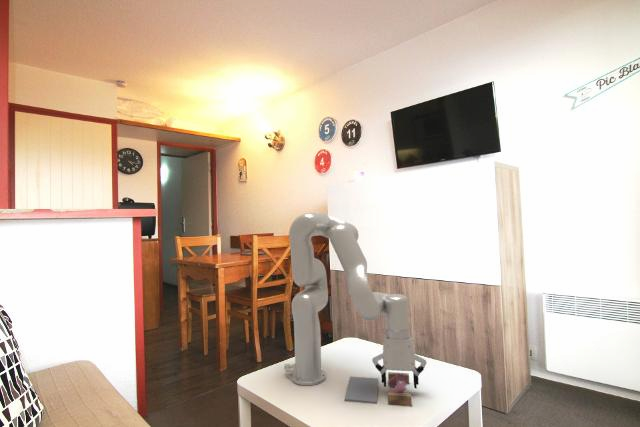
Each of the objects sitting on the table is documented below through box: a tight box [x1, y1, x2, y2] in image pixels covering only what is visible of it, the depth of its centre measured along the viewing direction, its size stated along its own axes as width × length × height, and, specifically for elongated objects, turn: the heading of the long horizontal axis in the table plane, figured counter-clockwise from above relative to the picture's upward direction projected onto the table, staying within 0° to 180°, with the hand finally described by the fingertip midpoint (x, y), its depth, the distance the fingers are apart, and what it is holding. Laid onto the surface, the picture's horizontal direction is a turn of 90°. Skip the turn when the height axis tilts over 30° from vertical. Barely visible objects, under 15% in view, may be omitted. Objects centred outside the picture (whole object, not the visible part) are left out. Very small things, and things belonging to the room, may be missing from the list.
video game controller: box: [387, 372, 407, 393], centre depth 112 cm, size 10×5×7 cm, turn 169°
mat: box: [343, 376, 379, 405], centre depth 114 cm, size 10×16×1 cm, turn 168°
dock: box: [387, 371, 413, 408], centre depth 112 cm, size 7×16×3 cm, turn 168°
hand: (400, 385), depth 112 cm, fingers open, 9 cm apart
